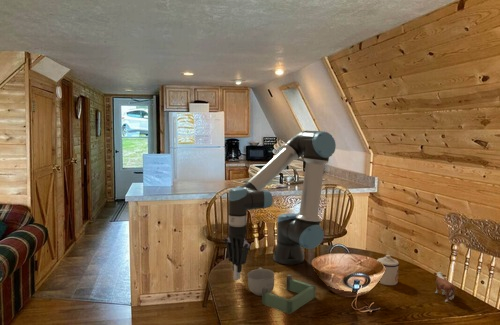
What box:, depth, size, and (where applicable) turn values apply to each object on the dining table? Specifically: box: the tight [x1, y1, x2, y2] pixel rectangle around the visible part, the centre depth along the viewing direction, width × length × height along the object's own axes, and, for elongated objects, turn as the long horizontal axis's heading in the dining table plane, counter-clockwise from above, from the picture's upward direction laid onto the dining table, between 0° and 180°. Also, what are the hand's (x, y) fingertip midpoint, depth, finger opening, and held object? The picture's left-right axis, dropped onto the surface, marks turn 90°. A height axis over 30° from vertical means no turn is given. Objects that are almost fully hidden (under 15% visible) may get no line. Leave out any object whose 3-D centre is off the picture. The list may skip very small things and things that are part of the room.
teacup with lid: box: [376, 254, 400, 286], centre depth 168 cm, size 12×9×12 cm
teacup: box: [246, 267, 275, 297], centre depth 156 cm, size 14×11×8 cm
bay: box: [261, 274, 316, 315], centre depth 148 cm, size 18×12×6 cm
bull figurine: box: [433, 271, 456, 303], centre depth 153 cm, size 4×13×8 cm, turn 176°
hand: (237, 278), depth 164 cm, fingers closed
